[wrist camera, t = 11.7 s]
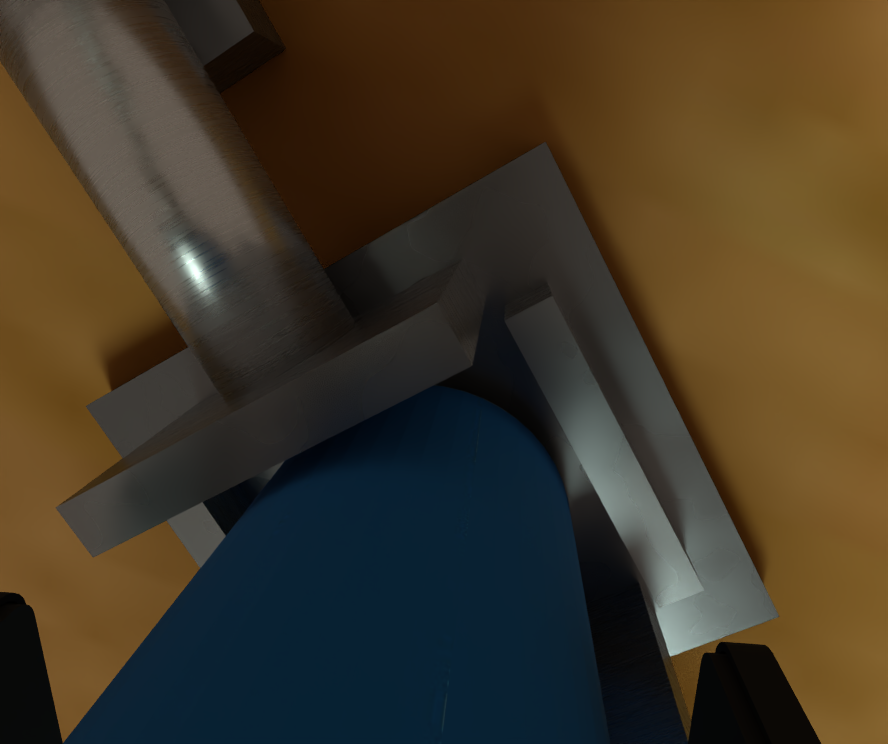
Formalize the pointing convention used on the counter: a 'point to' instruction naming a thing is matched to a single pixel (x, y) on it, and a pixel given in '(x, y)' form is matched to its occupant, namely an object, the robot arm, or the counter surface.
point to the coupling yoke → (369, 335)
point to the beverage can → (380, 601)
